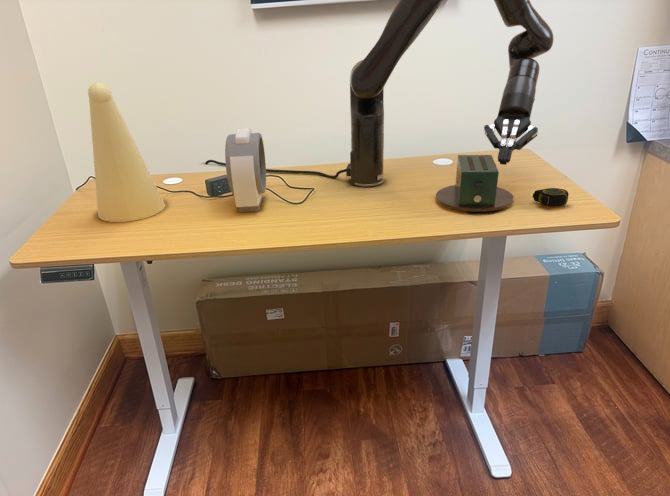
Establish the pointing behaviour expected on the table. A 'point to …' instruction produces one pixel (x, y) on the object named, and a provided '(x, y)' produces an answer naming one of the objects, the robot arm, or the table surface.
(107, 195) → the cone light
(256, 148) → the alarm clock
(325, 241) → the table surface
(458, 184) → the toaster
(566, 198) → the tape measure
